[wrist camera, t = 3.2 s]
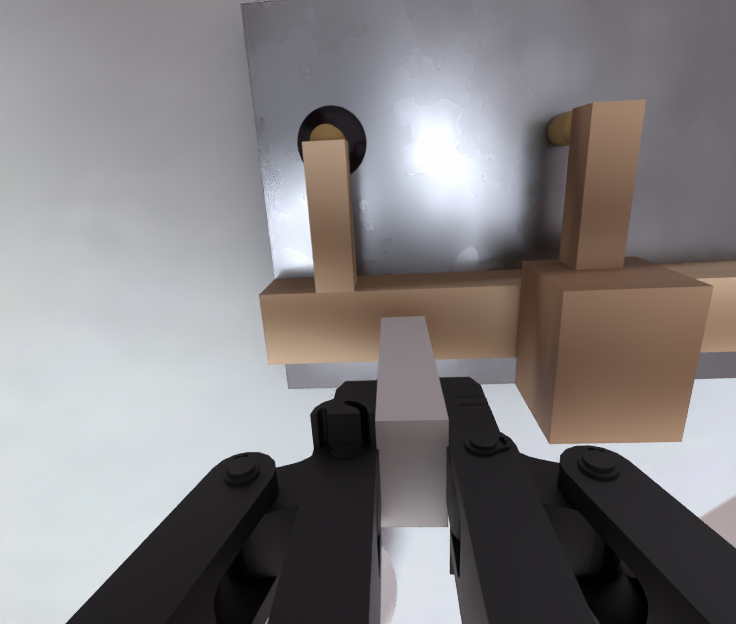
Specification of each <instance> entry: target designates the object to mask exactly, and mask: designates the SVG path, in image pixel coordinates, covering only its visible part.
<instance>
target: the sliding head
mask: <svg viewBox="0 0 736 624" xmlns="http://www.w3.org/2000/svg"><path fill="white" fill-rule="evenodd" d="M645 105H646V99H641V100H625V101H609V102H593V103H589V104H586V105H583V106H579V107H576V108H573V109H572V111H568V112H565V113H561V114H559V115H557V116H556V117H554V118H553V120H552V121H551V122H550V124H549V127H548V136H549V139H550V141H551V142H552V143H553V144H555V145H557V146H569V154H568V165H567V176H566V188H565V199H564V210H563V221H562V233H561V244H560V255H559V260H537V261H522V277H521V293H520V309H519V326H518V342H517V358H516V374H515V385H516V386H517V388H518V390H519V392H520V393H521V395H522V397H523V399H524V400H525V402H526V404H527V406H528V407H529V409H530V411H531V413H532V414H533V416H534V418H535V420H536V421H537V423H538V425H539V427H540V428H541V430H542V432H543V434H544V435H545V437H546V439H547V441H548V442H549V444H579V443H640V442H682V437H683V432H684V427H685V423H686V418H687V413H688V408H689V403H690V398H691V394H692V389H693V384H694V379H695V374H696V369H697V365H698V360H699V355H700V350H701V345H702V340H703V336H704V331H705V326H706V321H707V316H708V312H709V307H710V302H711V297H712V292H713V287H714V286H713V285H710V284H707V283H705V282H702V281H699V280H697V279H694V278H691V277H689V276H686V275H684V274H681V273H678V272H676V271H673V270H670V269H668V268H665V267H662V266H660V265H657V264H654V263H652V262H649V261H646V260H644V259H641V258H639V257H636V256H635V257H625V251H626V243H627V236H628V229H629V221H630V214H631V207H632V200H633V192H634V185H635V178H636V170H637V163H638V156H639V148H640V141H641V134H642V126H643V119H644V112H645Z"/></svg>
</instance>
